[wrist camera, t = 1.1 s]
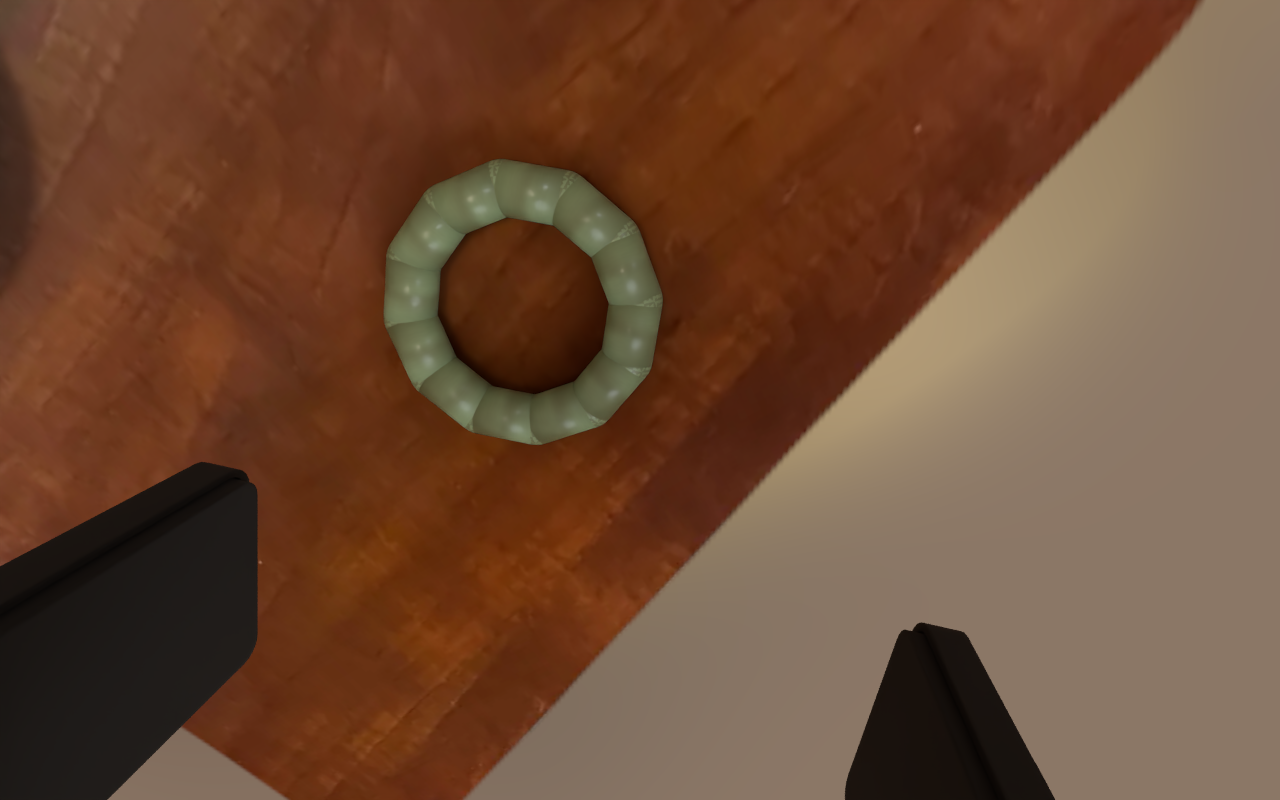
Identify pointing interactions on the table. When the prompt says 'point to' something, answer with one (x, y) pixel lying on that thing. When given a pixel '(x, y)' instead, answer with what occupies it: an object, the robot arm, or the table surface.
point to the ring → (586, 224)
